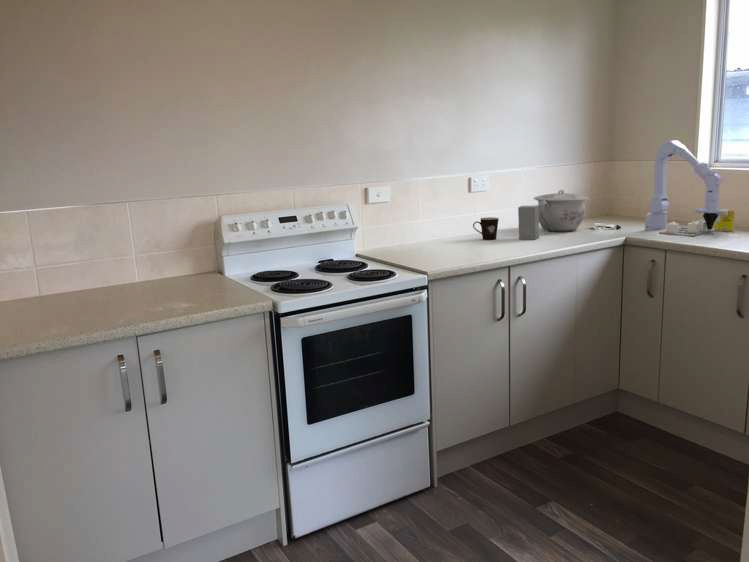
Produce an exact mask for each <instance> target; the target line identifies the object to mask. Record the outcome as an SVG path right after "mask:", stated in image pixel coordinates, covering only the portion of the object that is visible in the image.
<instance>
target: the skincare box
mask: <svg viewBox="0 0 749 562" xmlns="http://www.w3.org/2000/svg"><path fill="white" fill-rule="evenodd" d="M517 209H518V212H517V213H518V214H517V215H518V240H537V239H539V238H540V223H539V215H538V204H537V205H520V206H519V207H518V208H517Z"/></svg>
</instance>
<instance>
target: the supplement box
mask: <svg viewBox="0 0 749 562" xmlns="http://www.w3.org/2000/svg"><path fill="white" fill-rule="evenodd" d="M726 210H727V211H728V215H720V214H718V217H717V218H716V220H715V222H714V230H717V231H718V232H730V231H731V232H732V231H733V230H734V219H735V210H731V209H726Z"/></svg>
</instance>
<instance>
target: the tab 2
mask: <svg viewBox="0 0 749 562" xmlns="http://www.w3.org/2000/svg"><path fill="white" fill-rule="evenodd" d="M696 223H700V231H706V229H707V225H706V222H705V220H704V219H699V220H697V222H696Z"/></svg>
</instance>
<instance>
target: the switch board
mask: <svg viewBox="0 0 749 562" xmlns="http://www.w3.org/2000/svg"><path fill="white" fill-rule="evenodd" d="M717 231H718V230H715V229H713V228H712V229H711V230H708V229H706V231H700V233H695V232H687V227H686V226H682V227H679V233H671V232H666V230H664V231H661V232H658V234H659V235H667V236H668V235H670V236H680V237H689V238H694V237H698V236H702V235H707V234H711V233H714V232H717Z"/></svg>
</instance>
